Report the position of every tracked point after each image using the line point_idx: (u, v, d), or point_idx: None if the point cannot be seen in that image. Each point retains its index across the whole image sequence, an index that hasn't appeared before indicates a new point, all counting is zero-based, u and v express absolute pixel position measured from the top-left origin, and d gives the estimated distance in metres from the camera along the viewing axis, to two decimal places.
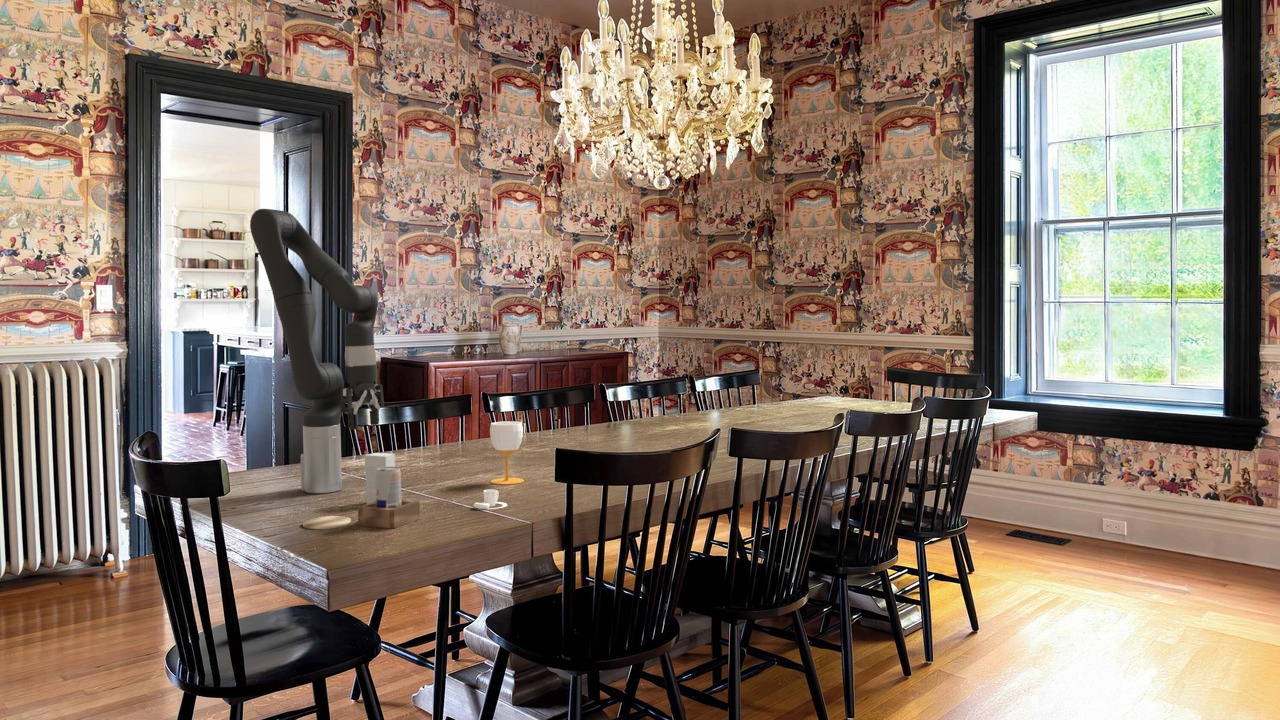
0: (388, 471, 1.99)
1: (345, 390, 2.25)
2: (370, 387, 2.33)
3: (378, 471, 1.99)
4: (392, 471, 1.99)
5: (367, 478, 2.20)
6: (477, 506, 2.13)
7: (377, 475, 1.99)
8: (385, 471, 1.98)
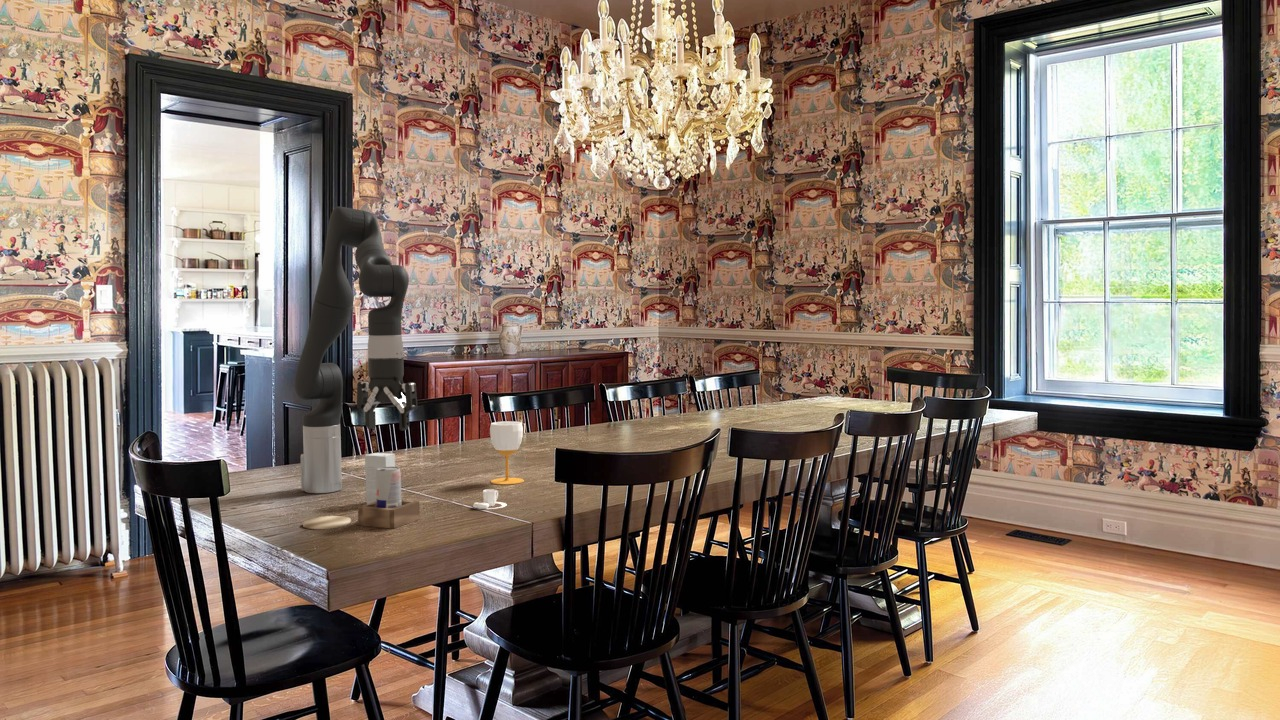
0: (388, 471, 1.99)
1: (413, 384, 1.98)
2: None
3: (378, 471, 1.99)
4: (392, 471, 1.99)
5: (367, 478, 2.20)
6: (476, 506, 2.13)
7: (377, 475, 1.99)
8: (385, 471, 1.98)
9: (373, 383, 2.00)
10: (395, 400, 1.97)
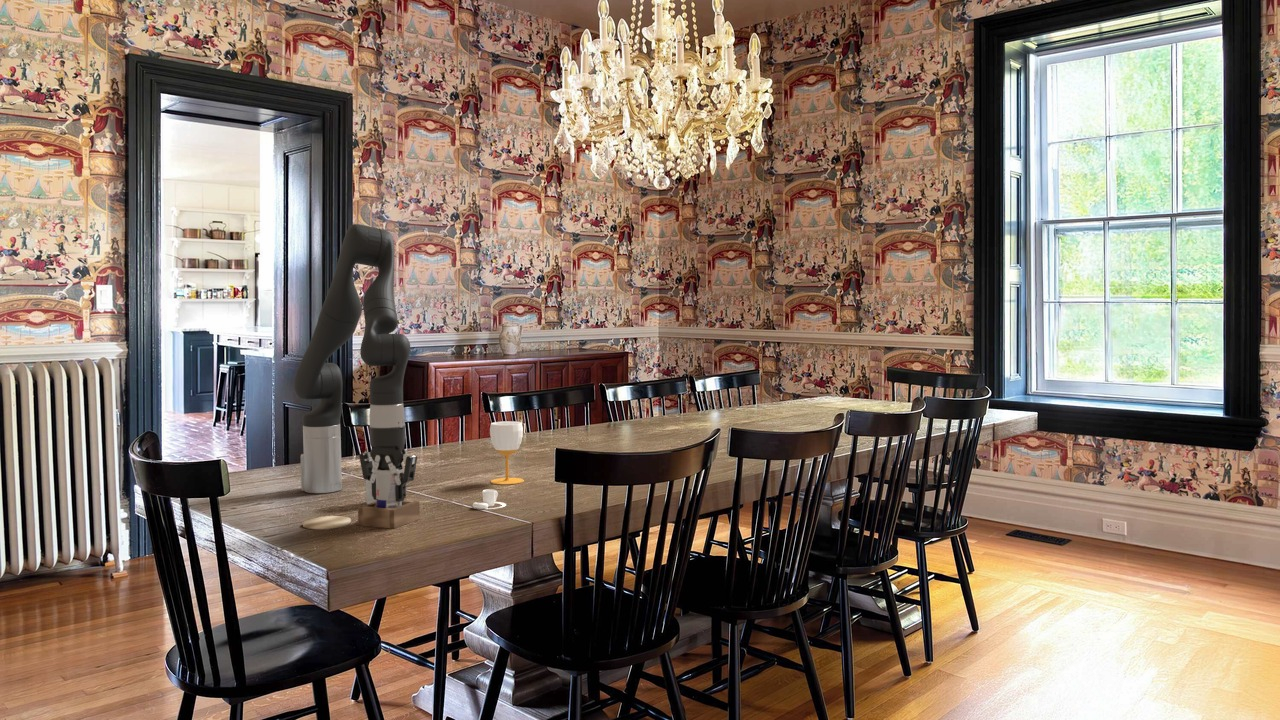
0: (388, 471, 1.99)
1: (414, 458, 1.99)
2: None
3: (378, 471, 1.99)
4: None
5: None
6: (476, 506, 2.13)
7: (377, 475, 1.99)
8: (385, 471, 1.98)
9: (374, 451, 2.01)
10: (394, 471, 1.98)
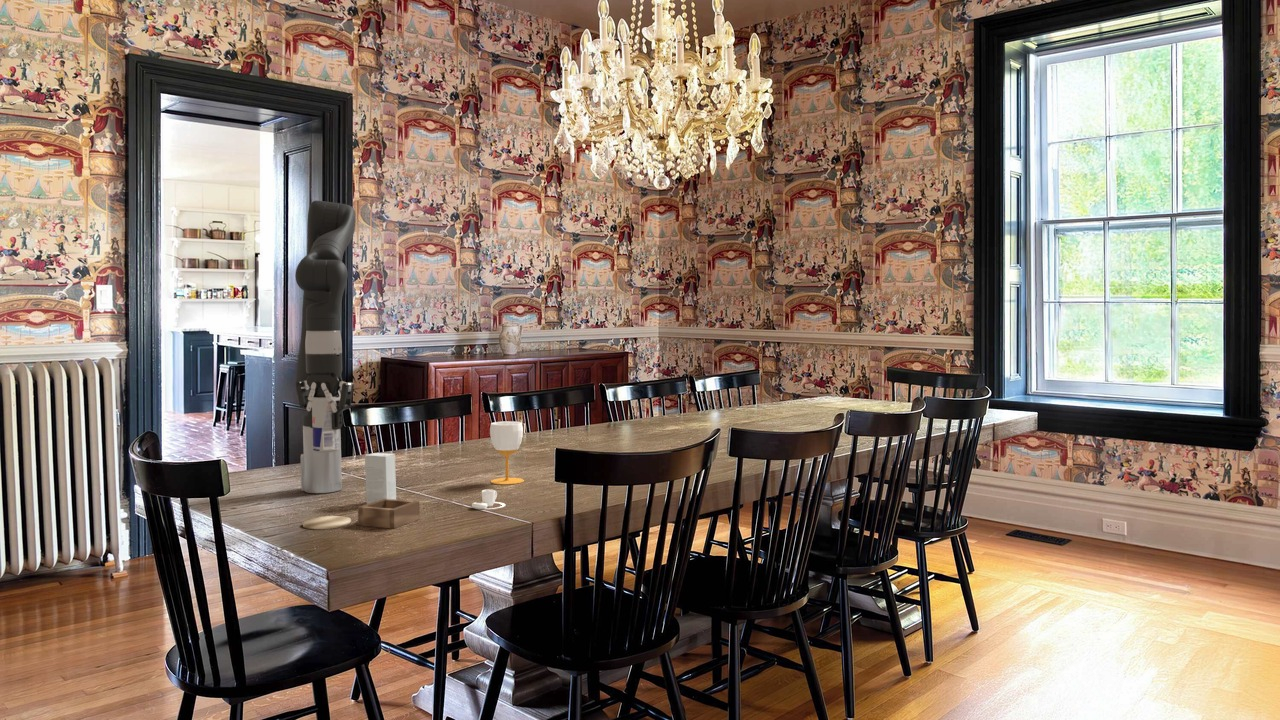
0: (324, 398, 1.96)
1: (350, 385, 1.96)
2: None
3: (314, 398, 1.97)
4: None
5: (367, 478, 2.20)
6: (475, 506, 2.13)
7: (313, 402, 1.97)
8: (321, 398, 1.96)
9: (310, 378, 1.98)
10: (330, 398, 1.96)
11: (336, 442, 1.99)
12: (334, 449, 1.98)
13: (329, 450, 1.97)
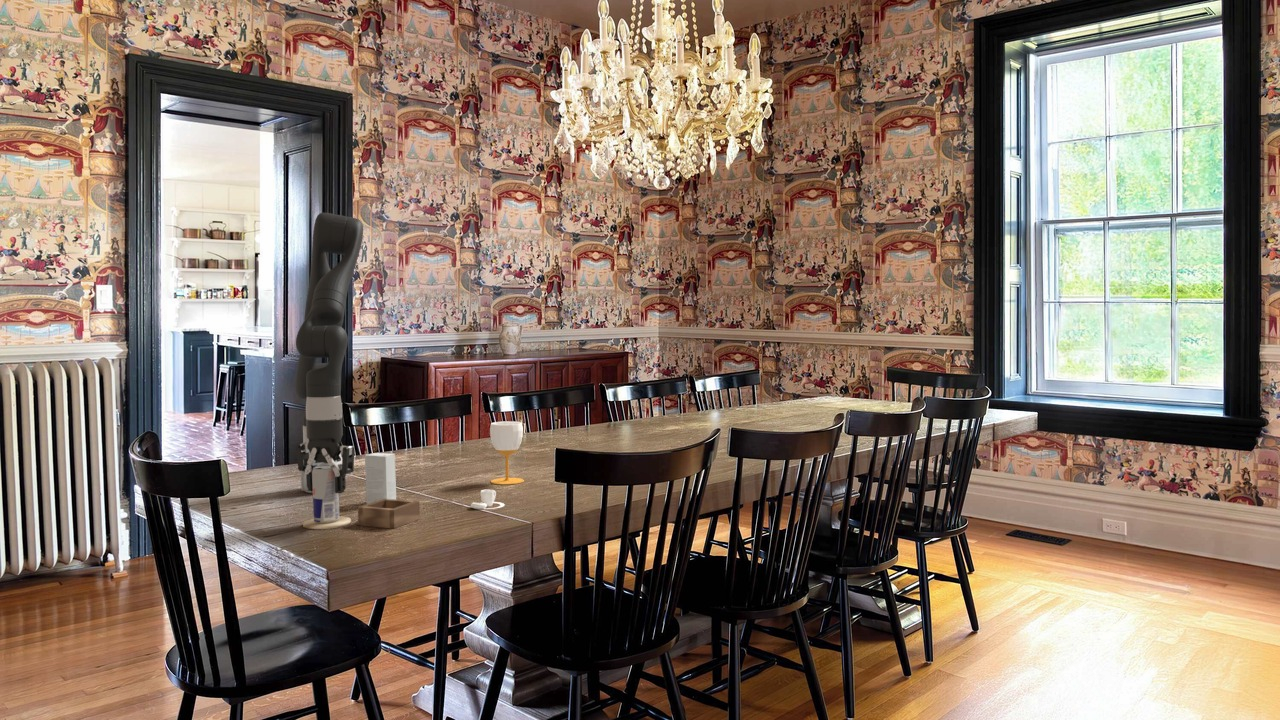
0: (324, 470, 1.97)
1: (351, 448, 1.97)
2: None
3: (314, 470, 1.98)
4: (328, 470, 1.98)
5: (367, 478, 2.20)
6: (474, 506, 2.13)
7: (313, 474, 1.98)
8: (321, 470, 1.97)
9: (311, 443, 1.99)
10: (332, 463, 1.97)
11: (337, 513, 2.00)
12: (335, 520, 1.99)
13: (330, 521, 1.98)
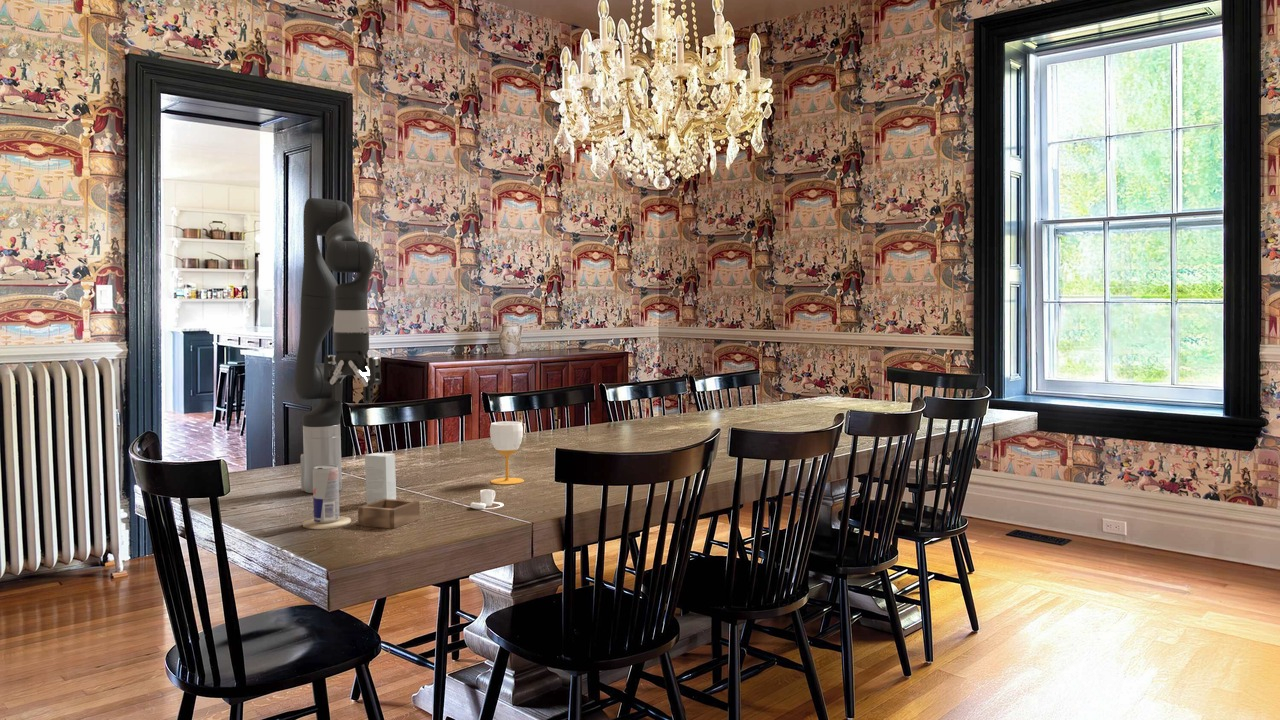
0: (325, 469, 1.97)
1: (377, 358, 2.03)
2: None
3: (315, 469, 1.98)
4: (329, 469, 1.98)
5: (367, 478, 2.20)
6: (473, 506, 2.13)
7: (314, 473, 1.98)
8: (322, 469, 1.97)
9: (339, 356, 2.05)
10: (359, 373, 2.02)
11: (337, 513, 2.00)
12: (335, 520, 1.99)
13: (330, 521, 1.98)
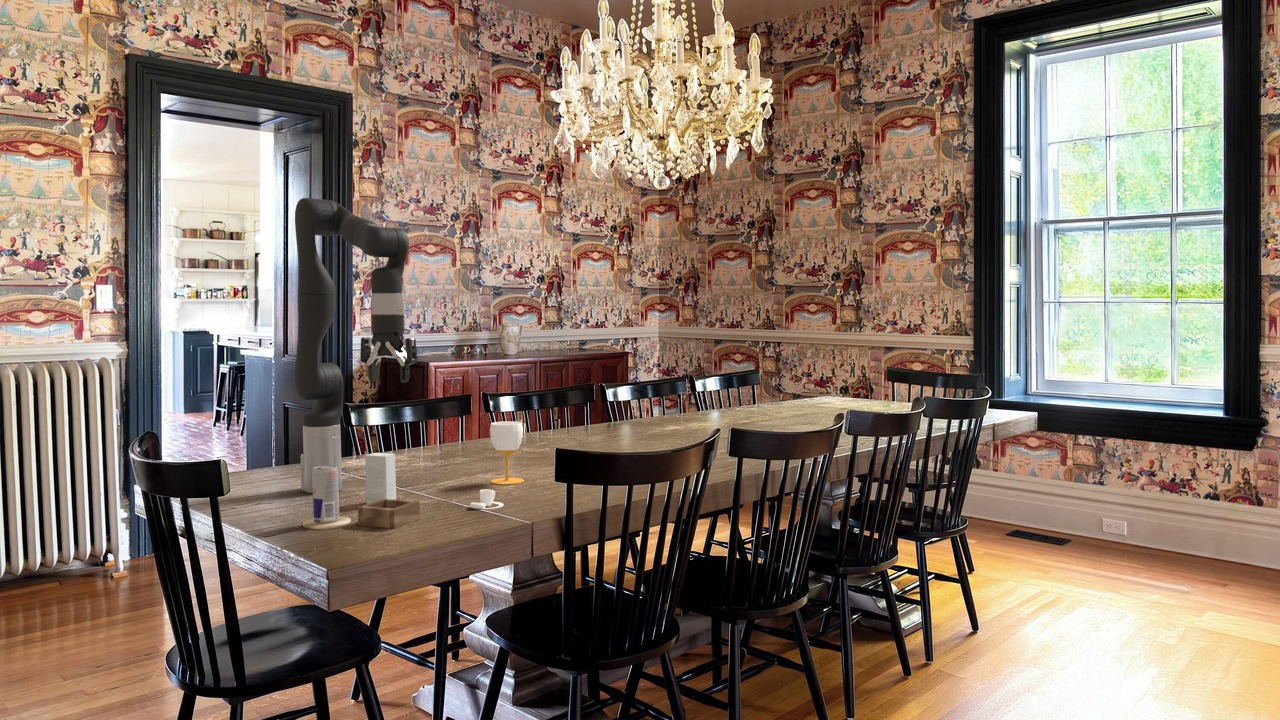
0: (324, 469, 1.97)
1: (413, 339, 2.11)
2: None
3: (314, 470, 1.98)
4: (328, 469, 1.98)
5: (367, 478, 2.20)
6: (473, 506, 2.13)
7: (313, 474, 1.98)
8: (321, 469, 1.97)
9: (376, 338, 2.13)
10: (396, 354, 2.11)
11: (337, 513, 2.00)
12: (335, 519, 1.99)
13: (330, 521, 1.98)
